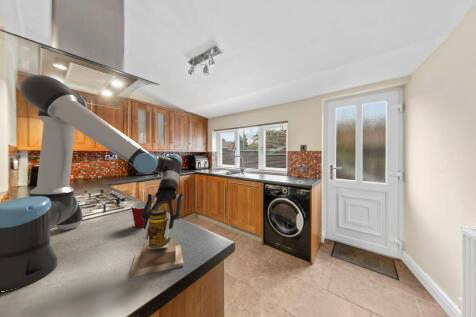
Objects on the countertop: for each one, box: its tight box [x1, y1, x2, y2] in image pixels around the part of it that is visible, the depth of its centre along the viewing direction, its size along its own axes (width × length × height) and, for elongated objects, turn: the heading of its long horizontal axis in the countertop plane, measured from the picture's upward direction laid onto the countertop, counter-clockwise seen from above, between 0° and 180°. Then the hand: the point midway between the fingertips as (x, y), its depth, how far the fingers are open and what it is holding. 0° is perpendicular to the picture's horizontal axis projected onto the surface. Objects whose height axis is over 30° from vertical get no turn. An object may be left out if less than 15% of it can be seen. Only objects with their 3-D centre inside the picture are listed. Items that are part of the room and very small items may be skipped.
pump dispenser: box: [55, 203, 84, 231], centre depth 88 cm, size 10×10×15 cm
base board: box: [129, 237, 184, 278], centre depth 62 cm, size 16×13×5 cm
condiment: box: [145, 208, 173, 249], centre depth 62 cm, size 7×8×12 cm
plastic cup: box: [129, 201, 154, 228], centre depth 93 cm, size 11×11×12 cm
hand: (155, 238), depth 58 cm, fingers closed on condiment, 6 cm apart
